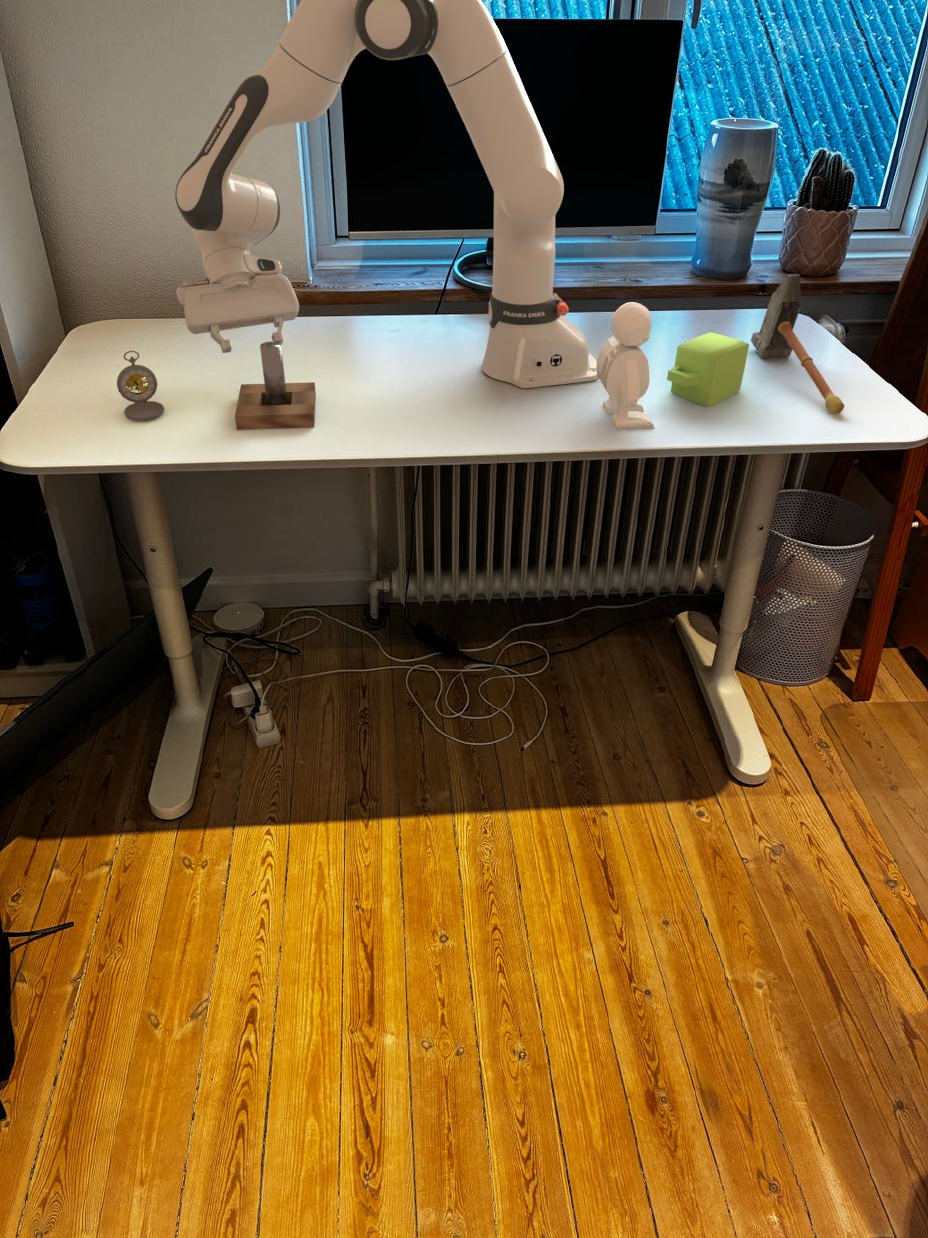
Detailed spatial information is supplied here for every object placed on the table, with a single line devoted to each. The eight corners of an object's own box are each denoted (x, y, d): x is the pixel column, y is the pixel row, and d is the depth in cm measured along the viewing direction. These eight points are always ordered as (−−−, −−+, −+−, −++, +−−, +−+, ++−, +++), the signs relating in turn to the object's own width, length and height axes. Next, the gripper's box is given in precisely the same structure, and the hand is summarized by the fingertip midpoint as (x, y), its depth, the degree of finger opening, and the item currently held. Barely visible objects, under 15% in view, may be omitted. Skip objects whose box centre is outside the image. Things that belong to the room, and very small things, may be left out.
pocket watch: (144, 426, 161) (132, 369, 155) (109, 414, 165) (97, 358, 159) (179, 409, 167) (169, 353, 161) (145, 397, 170) (134, 343, 164)
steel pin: (288, 407, 168) (281, 341, 161) (287, 415, 165) (280, 348, 158) (268, 407, 168) (260, 341, 160) (267, 416, 165) (259, 349, 158)
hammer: (839, 364, 161) (774, 268, 180) (807, 440, 173) (749, 342, 193) (873, 362, 162) (804, 267, 181) (839, 438, 174) (778, 341, 194)
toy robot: (657, 432, 162) (674, 316, 150) (606, 434, 161) (619, 318, 149) (635, 398, 173) (650, 288, 161) (587, 400, 172) (598, 289, 160)
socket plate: (315, 395, 172) (314, 382, 171) (314, 427, 162) (313, 413, 160) (242, 397, 171) (241, 384, 169) (236, 429, 161) (234, 415, 159)
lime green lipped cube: (708, 369, 185) (717, 321, 179) (753, 384, 179) (763, 335, 173) (652, 395, 175) (660, 345, 169) (698, 412, 169) (707, 361, 163)
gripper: (174, 273, 165) (196, 348, 164) (288, 259, 172) (310, 331, 171) (172, 291, 171) (194, 363, 170) (283, 277, 178) (304, 346, 177)
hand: (253, 347), depth 170 cm, fingers open, 8 cm apart
